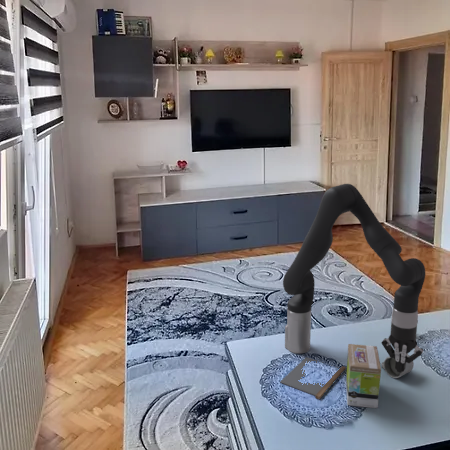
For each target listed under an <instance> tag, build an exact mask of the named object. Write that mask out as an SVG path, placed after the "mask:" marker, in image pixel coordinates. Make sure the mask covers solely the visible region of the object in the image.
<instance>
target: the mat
mask: <svg viewBox="0 0 450 450" xmlns="http://www.w3.org/2000/svg"><path fill="white" fill-rule="evenodd" d="M306 361H307V363H308V362H309V361H310V362H311V361H316V363H317V361H319V360H316V359H314V358H310V357H308V356H306V357H304V359H302V361H300V362H299V363H298V364H297V365H296V366H295V367H294V368H293V369H292V370H291V371H290V372H288V373H287V375H285V376H284V377H283V378H282V380H279V383H280V384H282V385H285V386H288V387H290V388H293V389H296V390H298V391H301V392H304V393H306V394H309V395H311V396H313V397H315V395H316V394H317V393H318V392H319V391H320V390H321V389H322V388H323V387H321V386H320V385H321V383H320V385H319V383H317V384H316V383H315V385H313V384H314V383H313V384H310V383H308V385H307V383H306V384H305V383H304V384H303V383H301V382H299V381H298V380H300V379H302V378H301V377H303V376H304V377H305V375H306V374H305V373H304V372H305V370H304V372H303V374H302V371H303V369H302V368H303V366H305V363H306ZM319 362H322V361H319ZM322 363H324V362H322ZM330 365H331V366H333V365H332V364H330ZM336 367H337V366H336ZM337 368H339V367H337ZM301 369H302V370H301ZM304 374H305V375H304ZM302 384H303V385H302ZM323 385H324V384H322V386H323Z"/></svg>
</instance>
